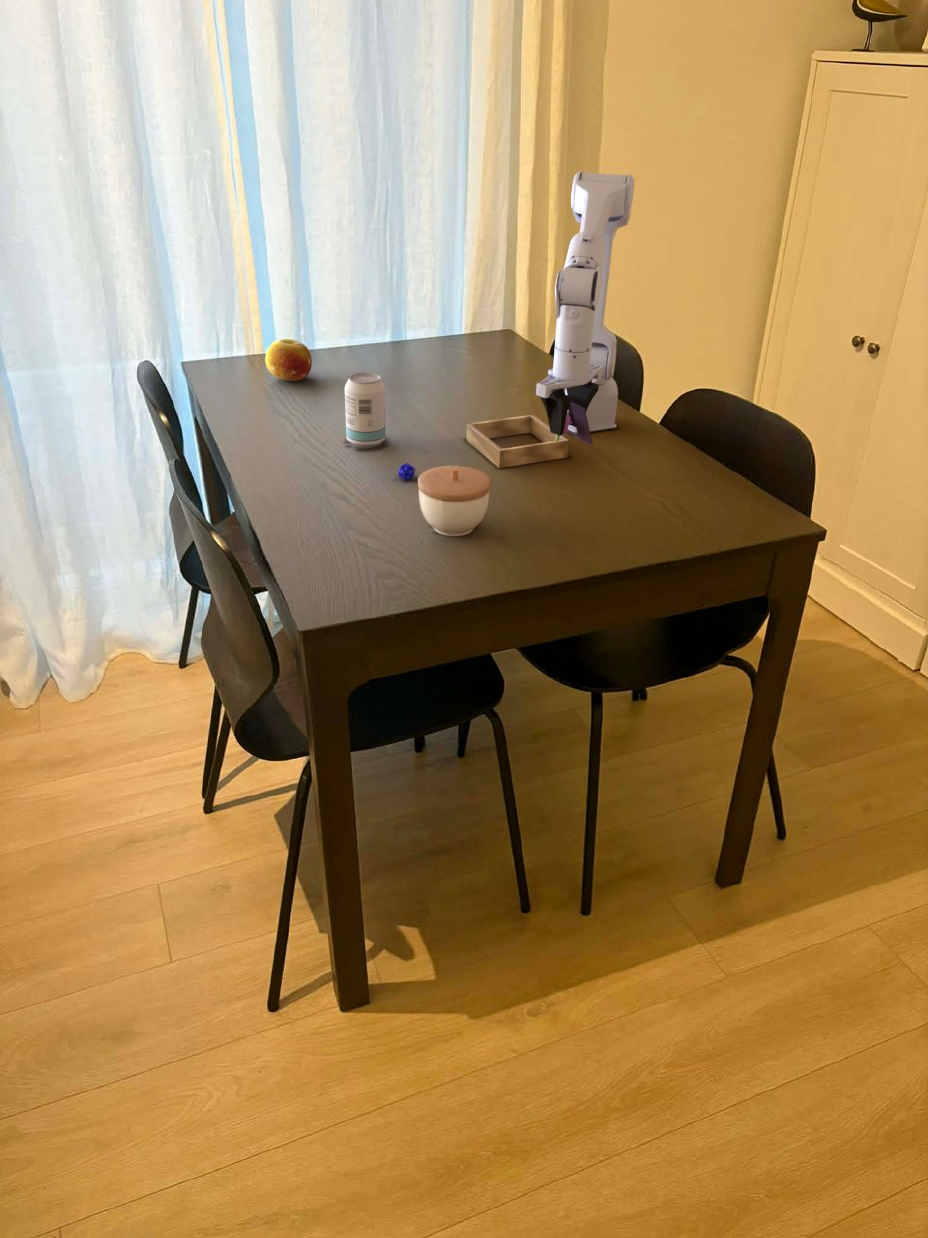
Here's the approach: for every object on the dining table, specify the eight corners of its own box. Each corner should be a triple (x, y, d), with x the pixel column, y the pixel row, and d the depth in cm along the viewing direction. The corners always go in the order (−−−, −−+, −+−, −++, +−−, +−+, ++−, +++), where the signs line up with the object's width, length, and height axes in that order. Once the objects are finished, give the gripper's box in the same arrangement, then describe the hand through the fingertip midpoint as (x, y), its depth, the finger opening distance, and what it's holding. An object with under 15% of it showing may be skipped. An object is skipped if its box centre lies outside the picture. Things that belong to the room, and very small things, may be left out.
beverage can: (392, 439, 177) (391, 374, 170) (373, 453, 171) (372, 386, 165) (359, 433, 179) (357, 368, 173) (339, 445, 174) (336, 379, 167)
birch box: (531, 430, 182) (532, 414, 181) (567, 457, 172) (568, 440, 170) (466, 440, 177) (466, 423, 176) (499, 468, 167) (500, 450, 166)
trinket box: (497, 518, 151) (500, 461, 146) (475, 548, 142) (477, 489, 137) (432, 506, 154) (433, 450, 149) (407, 536, 145) (406, 477, 140)
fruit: (322, 378, 204) (320, 340, 200) (293, 389, 198) (290, 350, 193) (287, 369, 208) (284, 331, 204) (257, 380, 202) (254, 341, 198)
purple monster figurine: (588, 406, 155) (555, 389, 161) (562, 421, 154) (530, 404, 160) (596, 441, 159) (563, 423, 166) (570, 457, 158) (539, 438, 165)
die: (394, 480, 162) (396, 462, 163) (408, 483, 164) (410, 465, 164) (402, 477, 160) (404, 459, 160) (416, 481, 161) (418, 463, 162)
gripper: (581, 332, 160) (573, 412, 168) (523, 350, 151) (518, 433, 159) (616, 342, 156) (607, 423, 164) (559, 361, 147) (552, 446, 155)
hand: (565, 429), depth 161 cm, fingers closed on purple monster figurine, 4 cm apart
